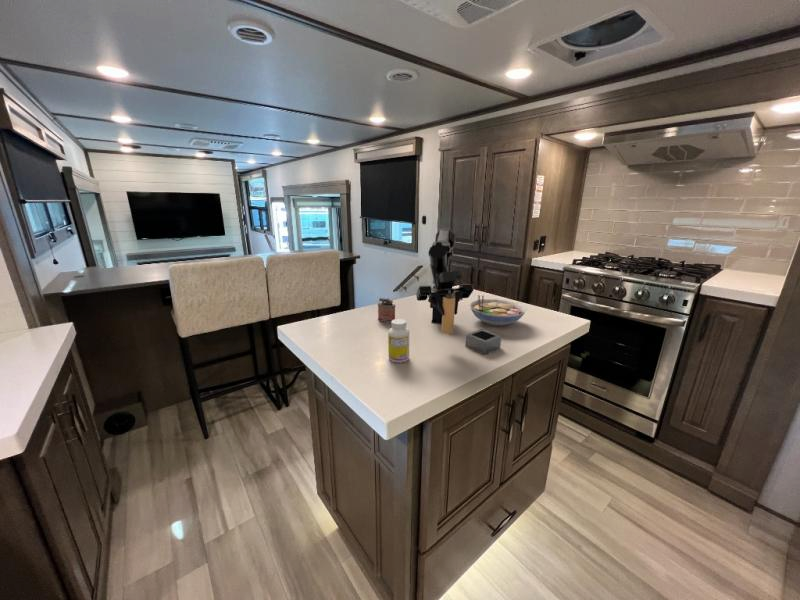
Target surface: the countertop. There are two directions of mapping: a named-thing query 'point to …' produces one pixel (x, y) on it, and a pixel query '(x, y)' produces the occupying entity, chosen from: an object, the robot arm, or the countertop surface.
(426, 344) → the countertop surface
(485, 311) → the ramen bowl
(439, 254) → the robot arm
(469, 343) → the grey square open block
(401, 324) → the supplement bottle
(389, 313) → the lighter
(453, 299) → the plug
